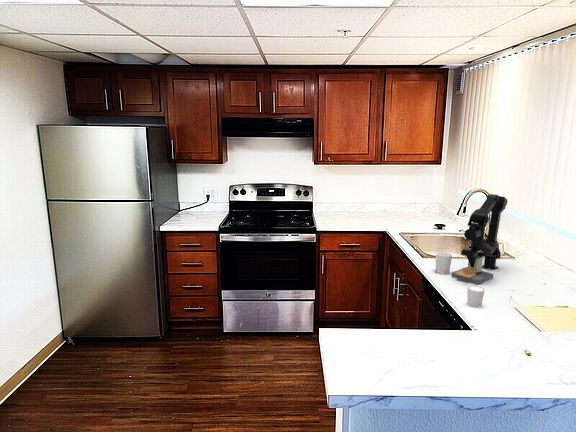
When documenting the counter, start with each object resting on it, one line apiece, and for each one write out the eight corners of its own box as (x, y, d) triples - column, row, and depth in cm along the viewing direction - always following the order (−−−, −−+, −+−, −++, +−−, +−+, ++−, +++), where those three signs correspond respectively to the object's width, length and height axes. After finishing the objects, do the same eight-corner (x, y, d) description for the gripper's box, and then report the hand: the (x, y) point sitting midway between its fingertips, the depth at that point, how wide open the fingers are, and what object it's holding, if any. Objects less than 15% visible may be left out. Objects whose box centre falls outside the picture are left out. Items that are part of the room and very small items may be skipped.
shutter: (462, 271, 207) (463, 267, 206) (475, 275, 201) (476, 270, 201) (456, 274, 203) (456, 269, 203) (469, 278, 198) (469, 273, 197)
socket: (467, 271, 217) (467, 266, 216) (493, 278, 206) (493, 273, 205) (451, 276, 208) (451, 272, 207) (477, 284, 197) (478, 280, 196)
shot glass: (462, 300, 178) (464, 285, 176) (477, 300, 178) (479, 285, 177) (471, 307, 171) (472, 291, 170) (486, 306, 172) (488, 291, 170)
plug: (472, 268, 210) (473, 251, 208) (481, 270, 206) (483, 253, 204) (467, 269, 208) (469, 253, 206) (476, 272, 204) (478, 255, 202)
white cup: (451, 275, 210) (453, 256, 208) (435, 274, 212) (437, 255, 210) (448, 270, 218) (450, 252, 216) (433, 269, 220) (434, 251, 218)
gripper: (483, 243, 192) (480, 274, 195) (502, 237, 203) (499, 267, 206) (461, 238, 200) (459, 268, 203) (481, 233, 211) (478, 261, 214)
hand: (474, 266), depth 206 cm, fingers closed on plug, 4 cm apart
